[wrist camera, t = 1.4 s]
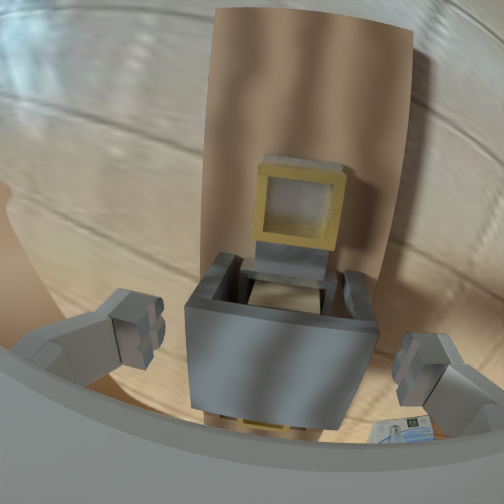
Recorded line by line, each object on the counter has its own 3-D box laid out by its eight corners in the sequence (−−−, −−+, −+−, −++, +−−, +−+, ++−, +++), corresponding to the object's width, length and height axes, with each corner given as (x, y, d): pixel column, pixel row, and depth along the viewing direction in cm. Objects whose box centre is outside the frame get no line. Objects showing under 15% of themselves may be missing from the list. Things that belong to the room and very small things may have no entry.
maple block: (318, 279, 30) (320, 313, 25) (303, 349, 34) (301, 386, 28) (258, 271, 31) (247, 303, 25) (251, 341, 34) (241, 378, 29)
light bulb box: (429, 413, 41) (442, 463, 31) (419, 434, 43) (428, 480, 34) (372, 420, 43) (377, 473, 33) (365, 441, 45) (369, 490, 36)
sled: (353, 165, 25) (362, 172, 21) (298, 412, 38) (295, 436, 34) (253, 152, 26) (244, 156, 22) (234, 402, 39) (227, 425, 35)
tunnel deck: (401, 41, 23) (458, -5, 10) (318, 423, 44) (314, 495, 32) (226, 20, 25) (174, -38, 12) (210, 406, 46) (186, 475, 34)
